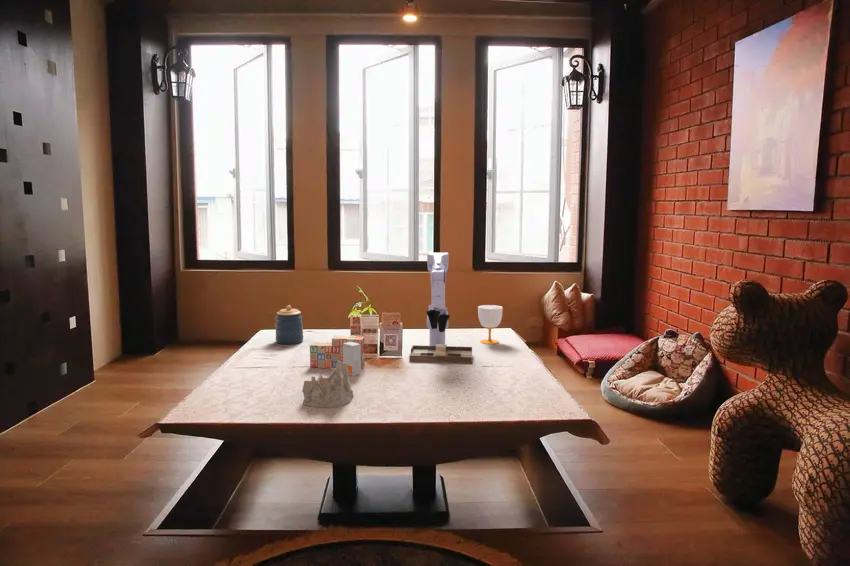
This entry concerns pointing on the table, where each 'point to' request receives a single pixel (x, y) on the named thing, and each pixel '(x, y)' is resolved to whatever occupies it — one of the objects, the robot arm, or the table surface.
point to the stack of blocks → (333, 351)
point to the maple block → (440, 349)
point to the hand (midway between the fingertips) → (438, 330)
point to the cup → (490, 319)
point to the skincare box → (352, 357)
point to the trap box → (451, 356)
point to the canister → (289, 326)
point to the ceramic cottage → (329, 388)
